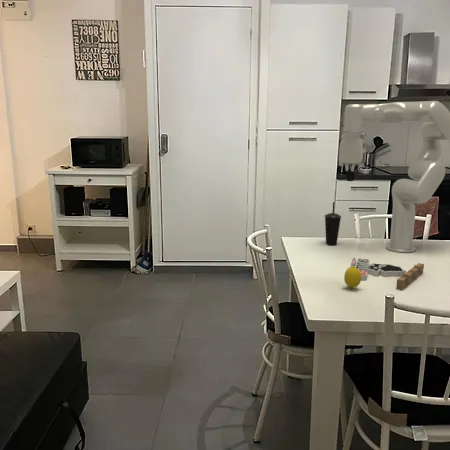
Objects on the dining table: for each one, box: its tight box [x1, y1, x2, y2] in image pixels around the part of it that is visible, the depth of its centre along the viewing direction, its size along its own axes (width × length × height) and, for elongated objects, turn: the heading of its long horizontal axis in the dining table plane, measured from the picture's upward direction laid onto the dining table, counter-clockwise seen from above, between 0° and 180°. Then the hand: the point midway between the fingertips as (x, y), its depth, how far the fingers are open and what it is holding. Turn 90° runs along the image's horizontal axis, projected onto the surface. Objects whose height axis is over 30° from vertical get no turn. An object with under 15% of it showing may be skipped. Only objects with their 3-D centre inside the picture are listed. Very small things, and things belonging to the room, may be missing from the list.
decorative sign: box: [350, 257, 407, 282], centre depth 173 cm, size 22×2×20 cm
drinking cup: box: [324, 201, 342, 247], centre depth 212 cm, size 8×8×20 cm
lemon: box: [343, 266, 362, 290], centre depth 156 cm, size 6×6×8 cm
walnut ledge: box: [395, 262, 425, 291], centre depth 165 cm, size 24×2×4 cm, turn 141°
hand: (350, 180), depth 190 cm, fingers closed
